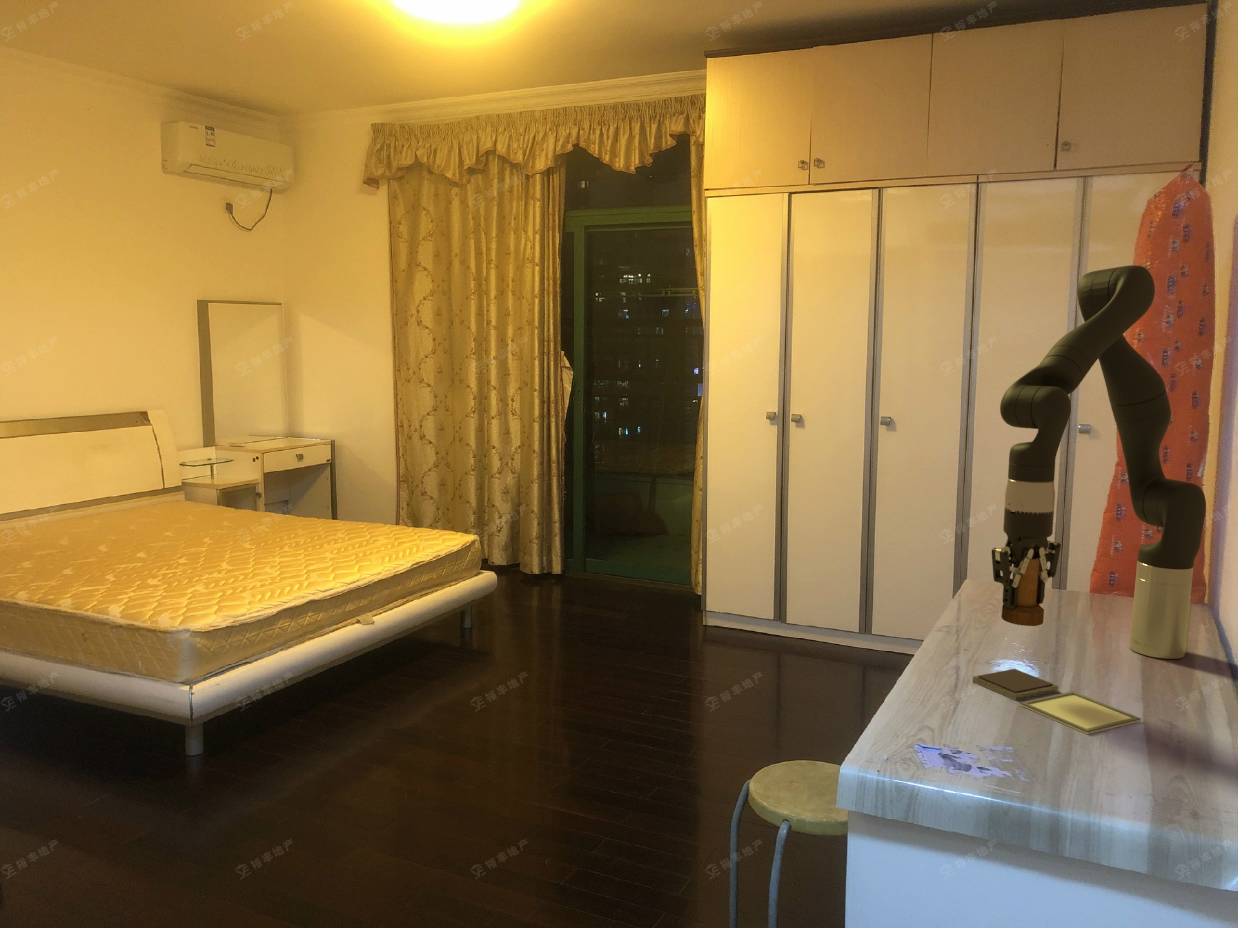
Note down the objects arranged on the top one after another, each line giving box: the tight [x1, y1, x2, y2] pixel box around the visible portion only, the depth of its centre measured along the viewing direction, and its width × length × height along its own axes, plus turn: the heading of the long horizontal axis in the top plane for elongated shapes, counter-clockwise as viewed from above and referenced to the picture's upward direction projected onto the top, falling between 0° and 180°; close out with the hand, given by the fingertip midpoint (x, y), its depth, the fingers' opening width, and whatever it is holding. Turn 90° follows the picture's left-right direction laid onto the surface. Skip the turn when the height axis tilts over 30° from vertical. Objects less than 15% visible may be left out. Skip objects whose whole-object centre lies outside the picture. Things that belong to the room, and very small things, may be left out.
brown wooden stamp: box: [1001, 543, 1045, 627], centre depth 156 cm, size 7×6×18 cm
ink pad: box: [972, 668, 1059, 701], centre depth 159 cm, size 10×9×1 cm
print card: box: [1019, 690, 1142, 735], centre depth 148 cm, size 12×12×1 cm
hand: (1023, 604), depth 157 cm, fingers closed on brown wooden stamp, 5 cm apart
